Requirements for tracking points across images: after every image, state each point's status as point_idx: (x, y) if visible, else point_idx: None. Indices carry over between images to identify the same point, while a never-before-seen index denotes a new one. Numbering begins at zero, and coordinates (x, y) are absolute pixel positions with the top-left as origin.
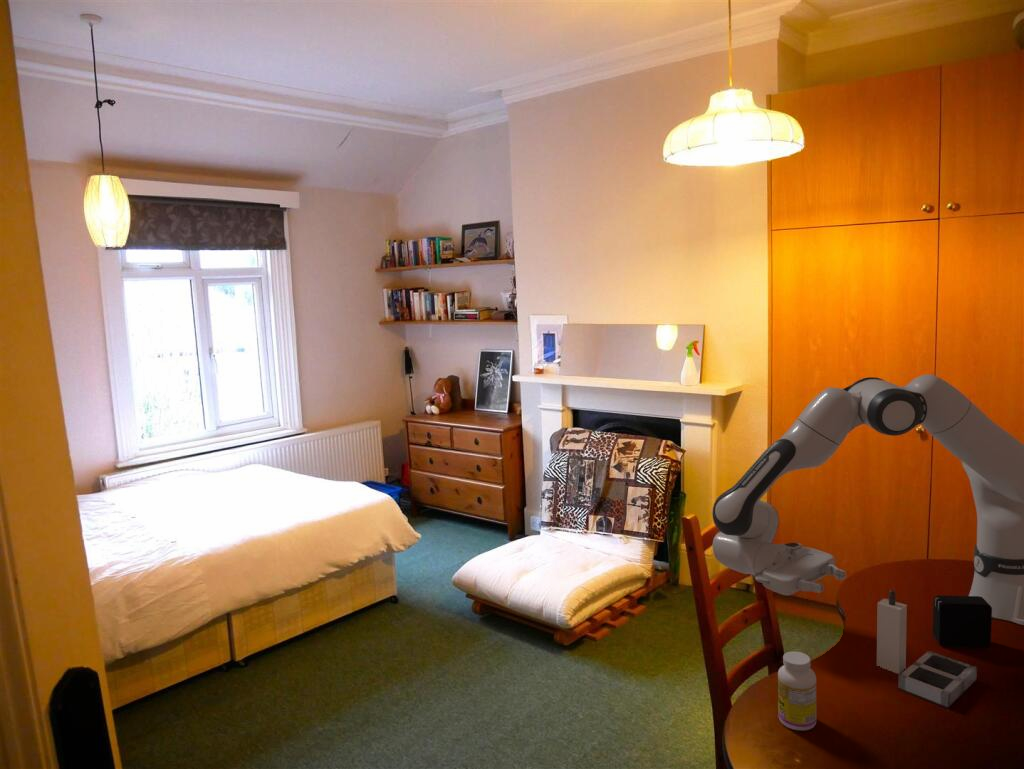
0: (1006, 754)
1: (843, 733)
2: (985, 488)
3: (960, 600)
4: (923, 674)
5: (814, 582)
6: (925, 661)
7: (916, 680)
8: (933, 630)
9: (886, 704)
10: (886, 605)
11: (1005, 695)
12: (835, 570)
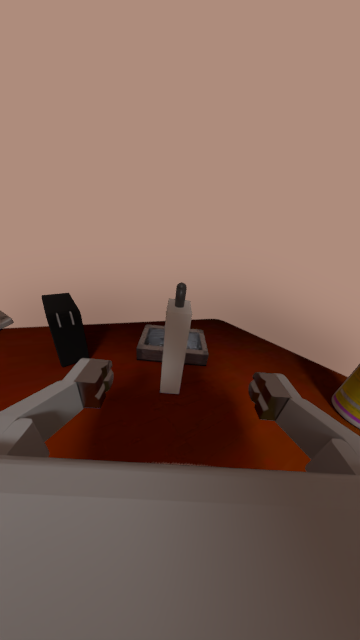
0: (217, 320)
1: (306, 376)
2: None
3: (61, 302)
4: None
5: (285, 396)
6: (161, 346)
7: (202, 344)
8: (64, 359)
9: (237, 366)
10: (190, 308)
11: (155, 324)
12: (66, 396)
